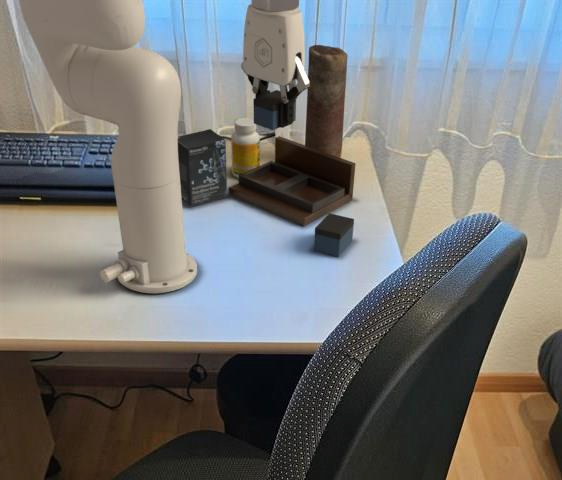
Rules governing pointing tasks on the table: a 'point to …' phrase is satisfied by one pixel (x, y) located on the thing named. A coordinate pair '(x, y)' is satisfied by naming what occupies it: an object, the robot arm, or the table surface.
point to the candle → (326, 99)
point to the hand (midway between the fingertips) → (274, 120)
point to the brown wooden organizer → (297, 183)
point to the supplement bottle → (245, 146)
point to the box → (202, 167)
